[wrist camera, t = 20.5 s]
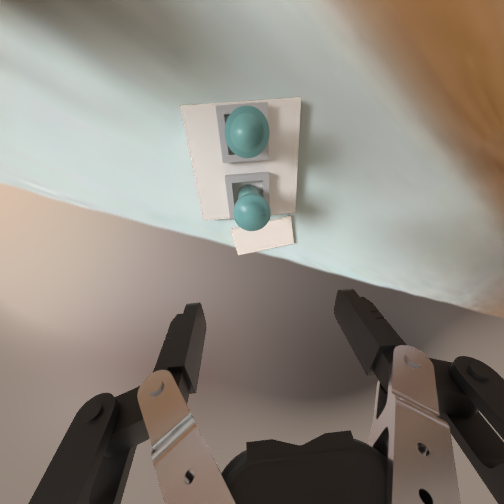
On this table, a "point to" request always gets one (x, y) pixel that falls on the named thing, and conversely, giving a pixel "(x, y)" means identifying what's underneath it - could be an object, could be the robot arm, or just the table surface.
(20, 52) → the table surface
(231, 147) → the teal flared handle
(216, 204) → the housing
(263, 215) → the teal round-knobbed peg
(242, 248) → the lid
